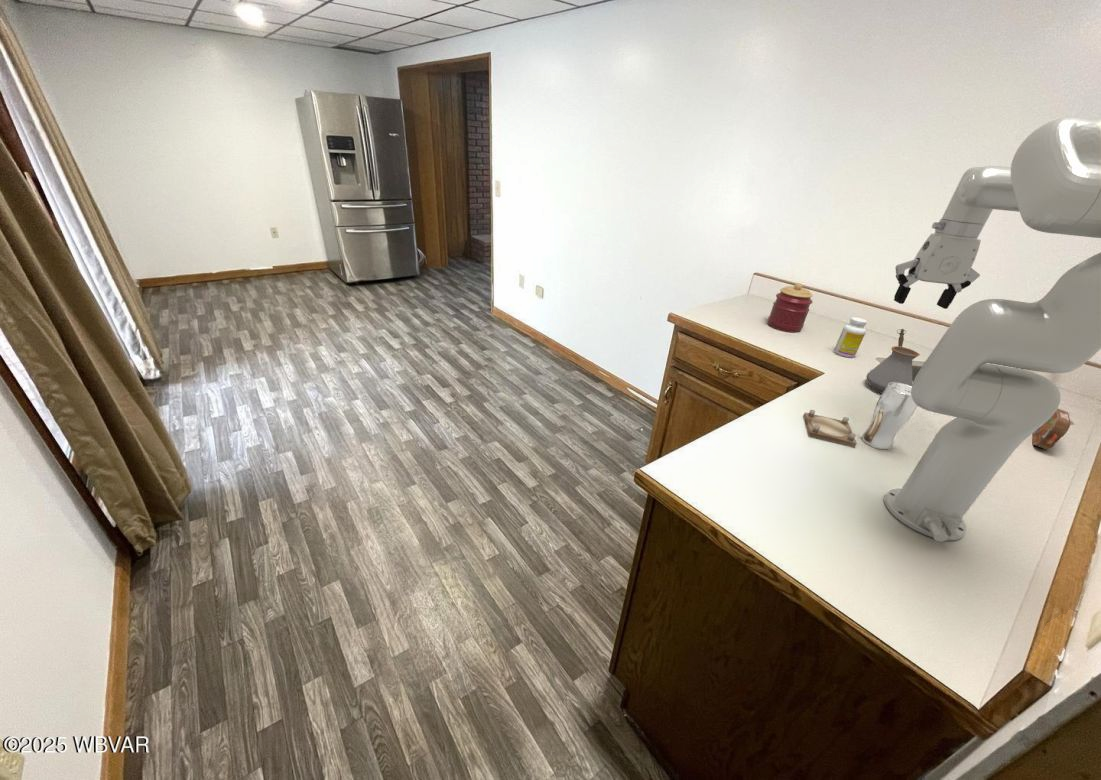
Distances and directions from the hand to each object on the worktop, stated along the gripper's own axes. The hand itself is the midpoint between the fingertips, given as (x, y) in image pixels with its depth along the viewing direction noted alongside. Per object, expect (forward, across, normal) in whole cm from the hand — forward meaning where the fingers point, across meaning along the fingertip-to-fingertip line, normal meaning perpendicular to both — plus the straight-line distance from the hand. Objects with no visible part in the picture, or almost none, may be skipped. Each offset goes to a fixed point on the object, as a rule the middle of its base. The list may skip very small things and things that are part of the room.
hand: (919, 304), depth 103 cm
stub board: (+30, -15, -15) cm, 37 cm away
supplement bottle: (+30, +10, +40) cm, 51 cm away
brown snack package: (+30, +40, -4) cm, 50 cm away
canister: (+30, -4, +62) cm, 69 cm away
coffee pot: (+30, +14, +19) cm, 38 cm away
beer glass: (+30, -5, -17) cm, 35 cm away
